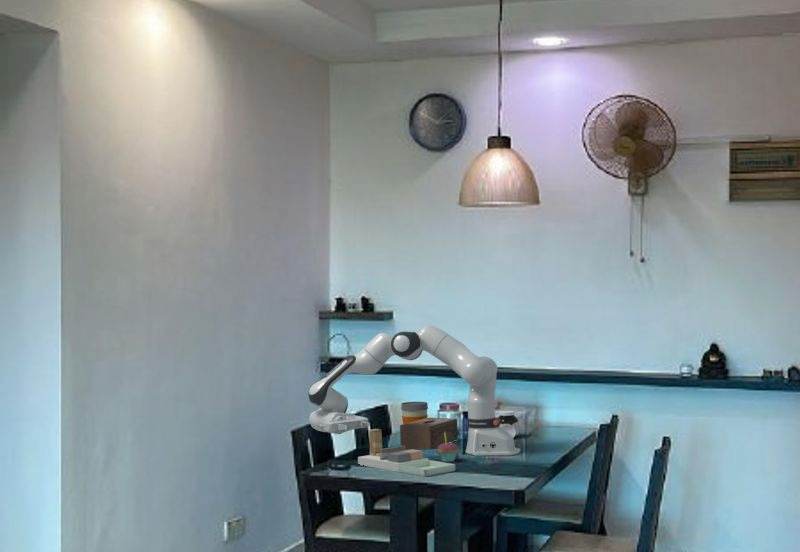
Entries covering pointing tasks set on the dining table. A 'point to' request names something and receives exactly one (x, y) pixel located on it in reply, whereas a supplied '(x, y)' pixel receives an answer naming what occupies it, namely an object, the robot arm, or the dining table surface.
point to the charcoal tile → (398, 457)
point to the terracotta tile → (414, 454)
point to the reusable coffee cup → (413, 411)
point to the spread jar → (509, 422)
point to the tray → (427, 468)
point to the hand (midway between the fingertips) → (357, 426)
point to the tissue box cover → (428, 433)
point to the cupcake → (448, 451)
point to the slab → (383, 462)
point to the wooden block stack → (380, 445)
